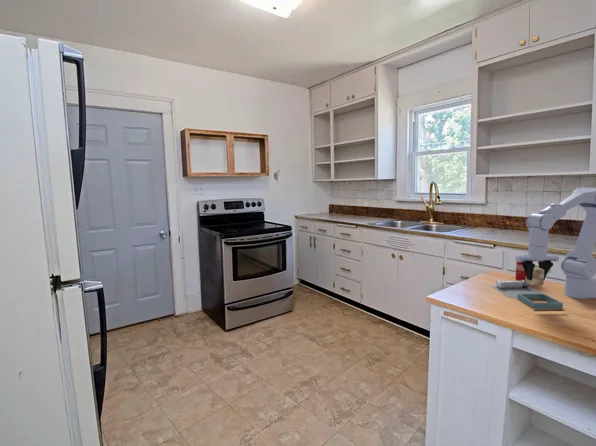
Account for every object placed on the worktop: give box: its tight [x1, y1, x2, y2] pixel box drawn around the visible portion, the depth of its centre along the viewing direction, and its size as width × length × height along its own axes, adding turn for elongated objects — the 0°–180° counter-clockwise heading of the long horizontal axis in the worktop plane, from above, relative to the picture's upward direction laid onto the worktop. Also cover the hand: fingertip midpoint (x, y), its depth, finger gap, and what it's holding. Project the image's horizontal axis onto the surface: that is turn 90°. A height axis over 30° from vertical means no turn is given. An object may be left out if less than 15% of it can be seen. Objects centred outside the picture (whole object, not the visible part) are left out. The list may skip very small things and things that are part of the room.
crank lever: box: [495, 280, 530, 288], centre depth 142 cm, size 12×4×3 cm, turn 87°
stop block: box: [526, 266, 545, 286], centre depth 126 cm, size 4×4×6 cm
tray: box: [516, 292, 564, 312], centre depth 124 cm, size 10×10×3 cm
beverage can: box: [515, 261, 534, 281], centre depth 151 cm, size 6×6×12 cm
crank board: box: [490, 285, 542, 299], centre depth 137 cm, size 16×14×1 cm
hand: (535, 279), depth 126 cm, fingers closed on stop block, 4 cm apart
